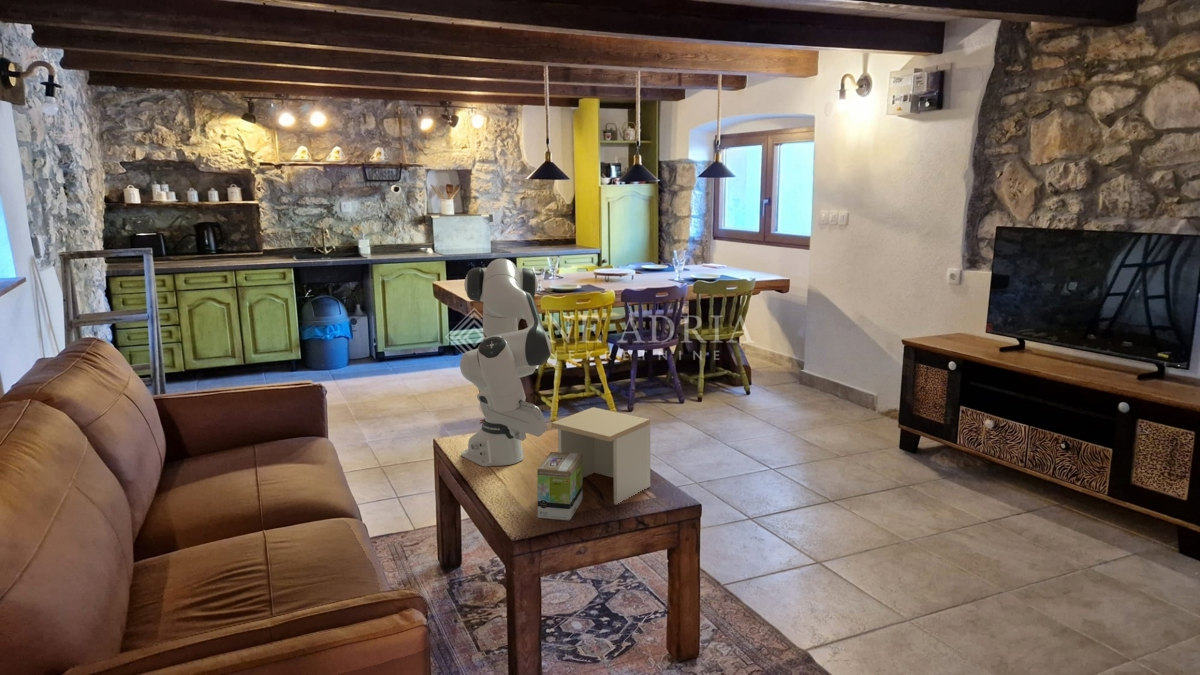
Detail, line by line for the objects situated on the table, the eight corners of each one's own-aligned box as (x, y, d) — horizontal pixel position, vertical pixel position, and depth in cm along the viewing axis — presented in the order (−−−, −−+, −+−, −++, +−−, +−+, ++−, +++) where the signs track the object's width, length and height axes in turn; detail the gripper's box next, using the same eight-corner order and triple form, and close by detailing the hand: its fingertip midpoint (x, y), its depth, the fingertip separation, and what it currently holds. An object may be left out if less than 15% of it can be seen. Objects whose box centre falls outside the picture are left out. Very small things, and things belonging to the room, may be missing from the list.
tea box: (571, 521, 210) (570, 470, 208) (536, 518, 212) (535, 468, 210) (583, 499, 225) (582, 452, 222) (550, 497, 227) (549, 450, 224)
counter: (552, 489, 232) (551, 422, 228) (593, 470, 248) (592, 407, 244) (610, 508, 219) (610, 436, 214) (650, 486, 234) (650, 419, 230)
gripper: (545, 398, 190) (557, 441, 197) (488, 381, 202) (501, 422, 209) (529, 413, 186) (542, 456, 193) (472, 394, 198) (485, 435, 205)
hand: (520, 438), depth 202 cm, fingers closed
